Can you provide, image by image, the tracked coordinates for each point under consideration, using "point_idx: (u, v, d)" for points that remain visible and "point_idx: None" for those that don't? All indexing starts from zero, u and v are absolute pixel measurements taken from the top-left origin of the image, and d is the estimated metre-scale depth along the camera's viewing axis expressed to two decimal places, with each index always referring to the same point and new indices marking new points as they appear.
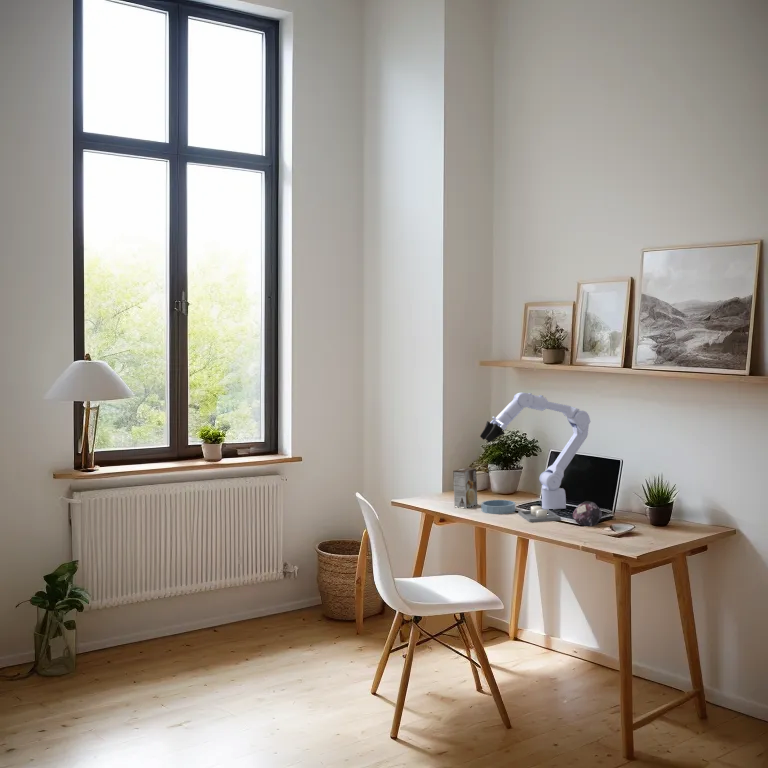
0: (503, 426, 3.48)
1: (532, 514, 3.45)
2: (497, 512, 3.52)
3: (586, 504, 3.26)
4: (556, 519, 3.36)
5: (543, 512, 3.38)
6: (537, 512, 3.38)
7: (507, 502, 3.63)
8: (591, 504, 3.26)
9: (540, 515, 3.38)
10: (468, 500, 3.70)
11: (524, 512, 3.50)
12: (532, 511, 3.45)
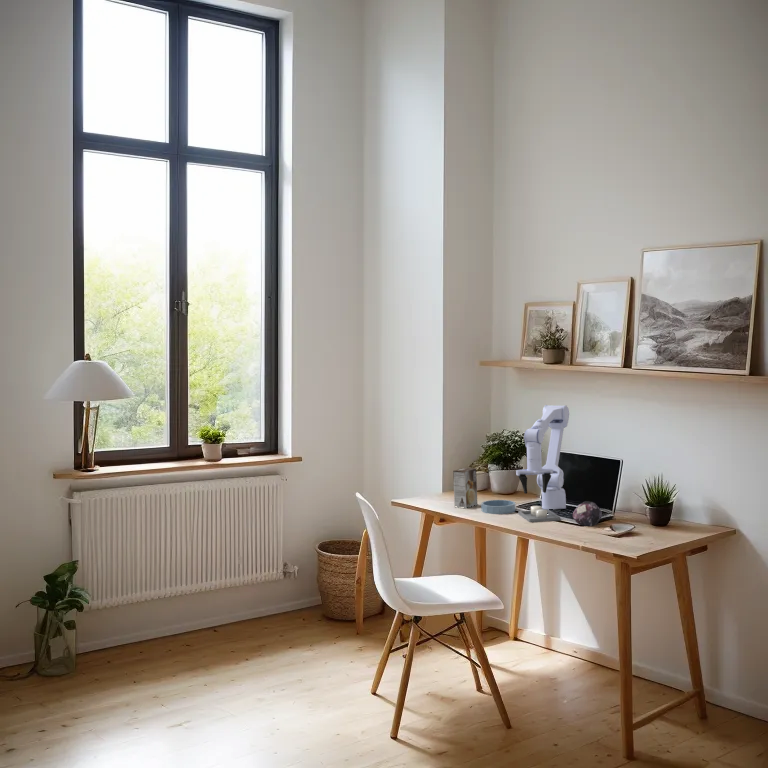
0: None
1: (532, 514, 3.45)
2: (497, 512, 3.52)
3: (586, 504, 3.26)
4: (556, 519, 3.36)
5: (543, 512, 3.38)
6: (537, 512, 3.38)
7: (507, 502, 3.63)
8: (591, 504, 3.26)
9: (540, 515, 3.38)
10: (468, 500, 3.70)
11: (524, 512, 3.50)
12: (532, 511, 3.45)
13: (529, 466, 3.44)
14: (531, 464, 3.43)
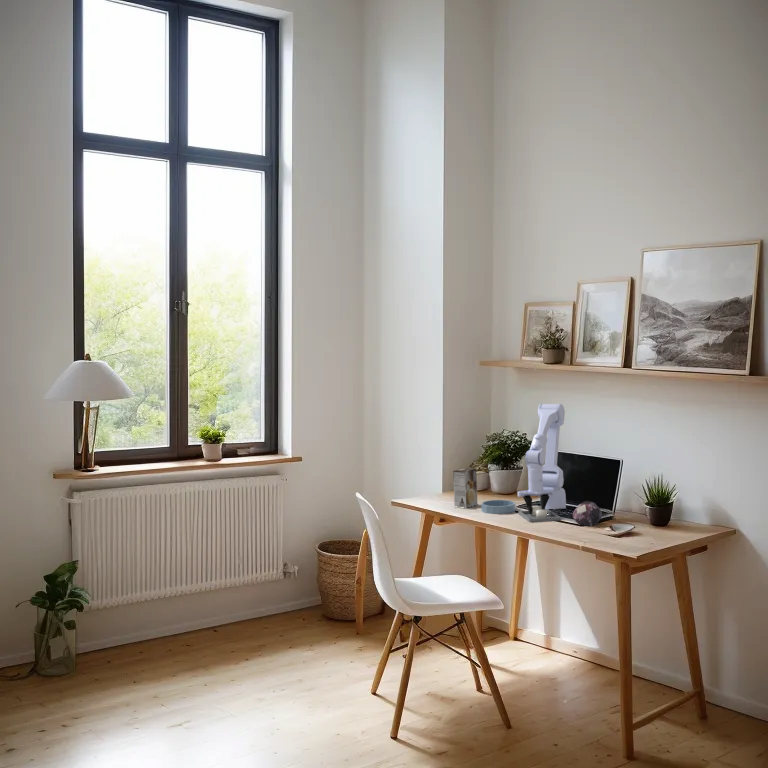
0: None
1: (532, 514, 3.45)
2: (497, 512, 3.52)
3: (586, 504, 3.26)
4: (556, 519, 3.36)
5: (543, 512, 3.38)
6: (537, 512, 3.38)
7: (507, 502, 3.63)
8: (591, 504, 3.26)
9: (540, 515, 3.38)
10: (468, 500, 3.70)
11: (524, 512, 3.50)
12: (532, 511, 3.45)
13: (531, 487, 3.44)
14: (533, 486, 3.43)
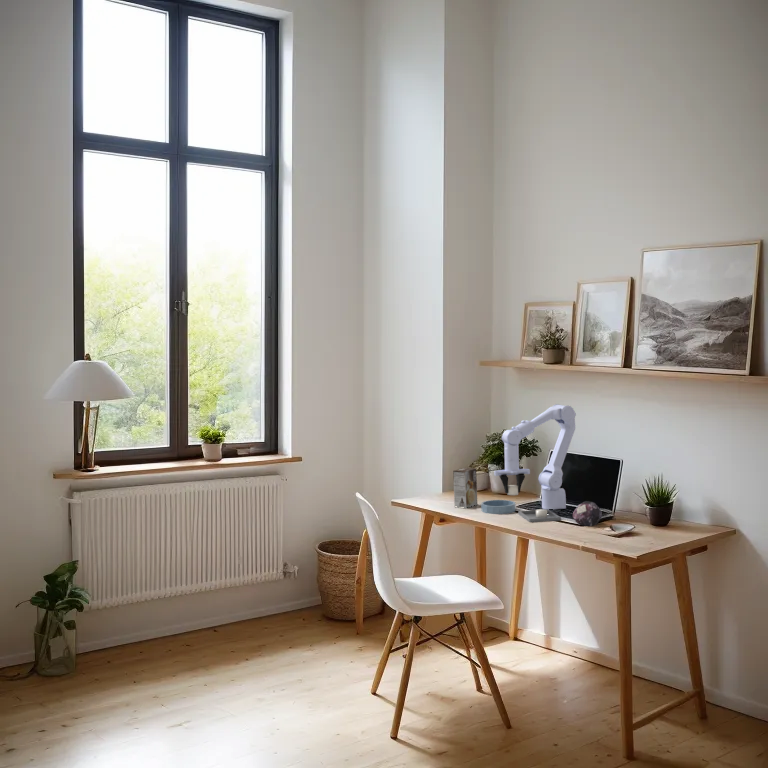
0: None
1: (509, 493, 3.53)
2: (497, 512, 3.52)
3: (586, 504, 3.26)
4: (556, 519, 3.36)
5: (543, 512, 3.38)
6: (537, 512, 3.38)
7: (507, 502, 3.63)
8: (591, 504, 3.26)
9: (540, 515, 3.38)
10: (468, 500, 3.70)
11: (524, 512, 3.50)
12: (509, 490, 3.53)
13: (507, 466, 3.52)
14: (509, 465, 3.51)
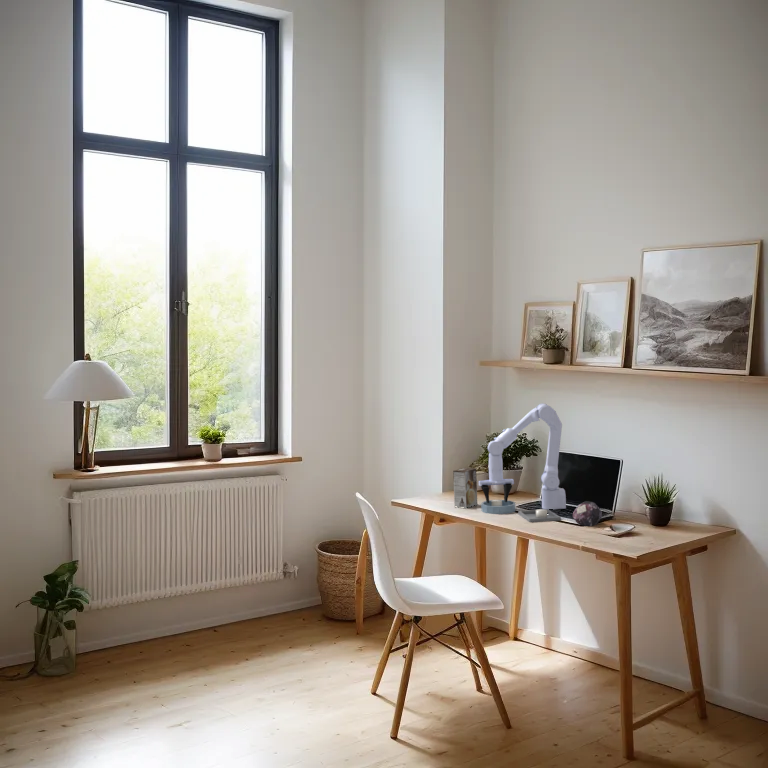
0: None
1: None
2: (497, 512, 3.52)
3: (586, 504, 3.26)
4: (556, 519, 3.36)
5: (543, 512, 3.38)
6: (537, 512, 3.38)
7: (507, 502, 3.63)
8: (591, 504, 3.26)
9: (540, 515, 3.38)
10: (468, 500, 3.70)
11: (524, 512, 3.50)
12: (493, 505, 3.59)
13: (491, 477, 3.59)
14: (493, 475, 3.58)
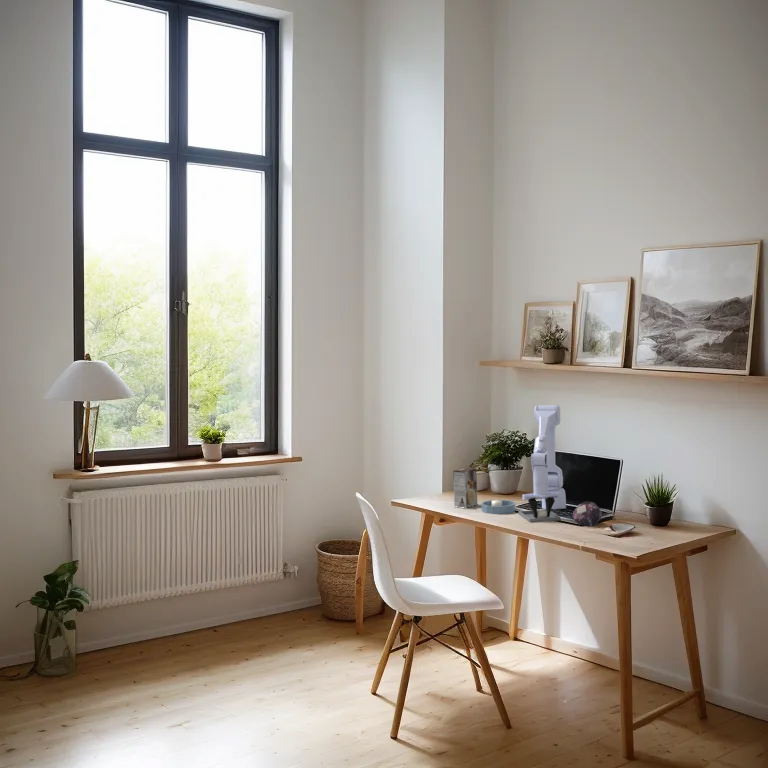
0: None
1: None
2: (497, 512, 3.52)
3: (586, 504, 3.26)
4: (556, 519, 3.36)
5: (543, 512, 3.38)
6: (537, 512, 3.38)
7: (507, 502, 3.63)
8: (591, 504, 3.26)
9: (540, 515, 3.38)
10: (468, 500, 3.70)
11: (524, 512, 3.50)
12: (493, 505, 3.59)
13: (536, 490, 3.37)
14: (538, 489, 3.37)
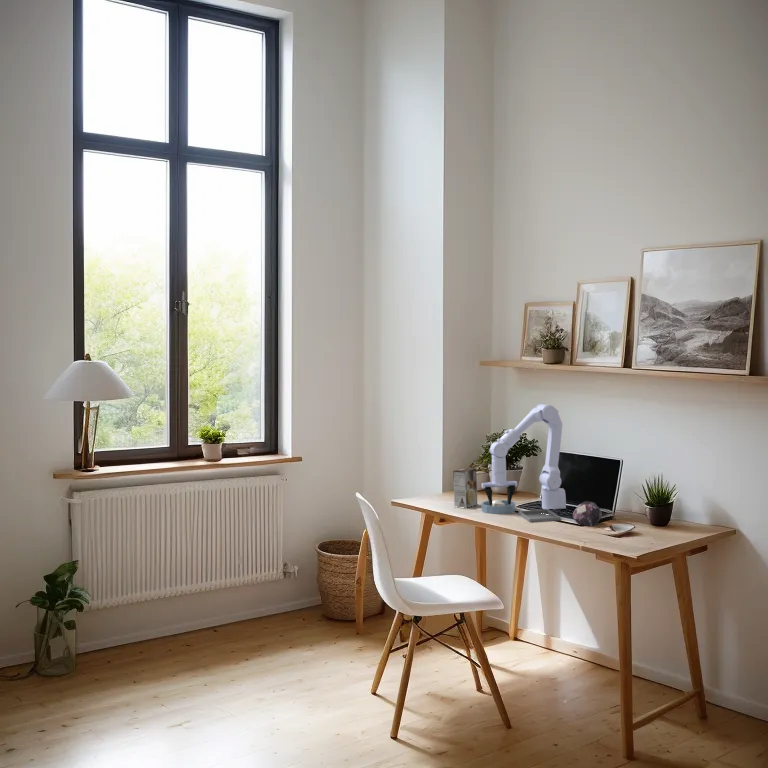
0: None
1: None
2: (497, 512, 3.52)
3: (586, 504, 3.26)
4: (556, 519, 3.36)
5: (501, 505, 3.53)
6: (496, 505, 3.54)
7: (507, 502, 3.63)
8: (591, 504, 3.26)
9: None
10: (468, 500, 3.70)
11: (524, 512, 3.50)
12: (493, 505, 3.59)
13: (494, 479, 3.53)
14: (496, 477, 3.53)
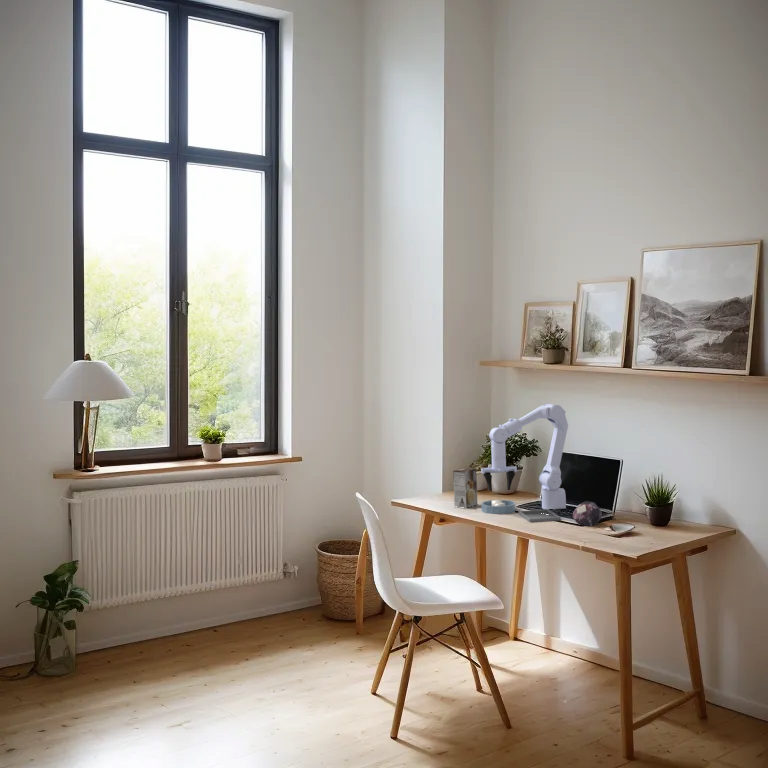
0: None
1: None
2: (497, 512, 3.52)
3: (586, 504, 3.26)
4: (556, 519, 3.36)
5: (501, 505, 3.53)
6: (496, 505, 3.54)
7: (507, 502, 3.63)
8: (591, 504, 3.26)
9: None
10: (468, 500, 3.70)
11: (524, 512, 3.50)
12: (493, 505, 3.59)
13: (493, 464, 3.53)
14: (496, 463, 3.52)
